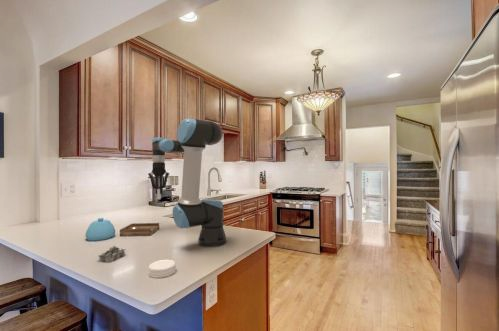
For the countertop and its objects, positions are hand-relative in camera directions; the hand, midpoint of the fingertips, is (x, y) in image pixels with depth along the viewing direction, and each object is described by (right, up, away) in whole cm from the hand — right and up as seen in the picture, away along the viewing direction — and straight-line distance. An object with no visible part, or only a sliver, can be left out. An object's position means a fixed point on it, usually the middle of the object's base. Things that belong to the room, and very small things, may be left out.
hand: (159, 199), depth 156 cm
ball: (-17, -20, -2) cm, 26 cm away
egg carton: (-5, -21, -45) cm, 50 cm away
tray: (-11, -21, -2) cm, 24 cm away
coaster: (+24, -21, -61) cm, 68 cm away
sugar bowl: (-30, -21, -12) cm, 39 cm away
